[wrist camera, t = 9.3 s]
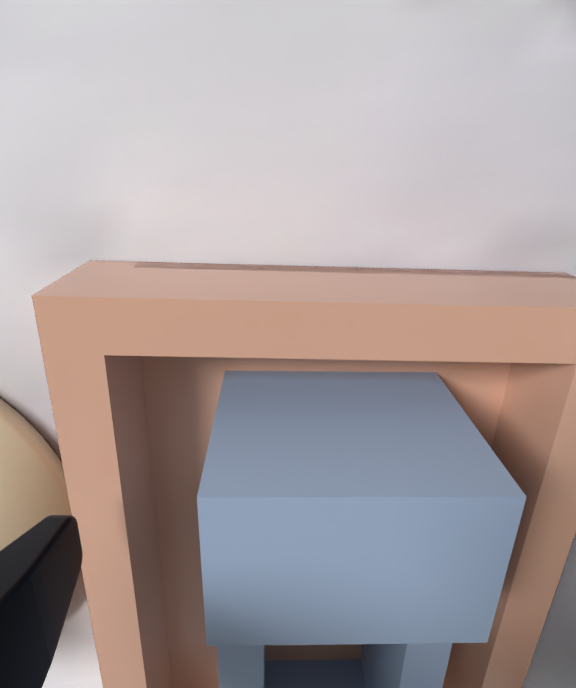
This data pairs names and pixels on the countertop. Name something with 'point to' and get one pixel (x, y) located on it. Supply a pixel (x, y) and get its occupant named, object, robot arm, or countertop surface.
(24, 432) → the pot lid
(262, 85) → the countertop surface
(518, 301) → the tray
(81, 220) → the countertop surface
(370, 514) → the blue open frame block
